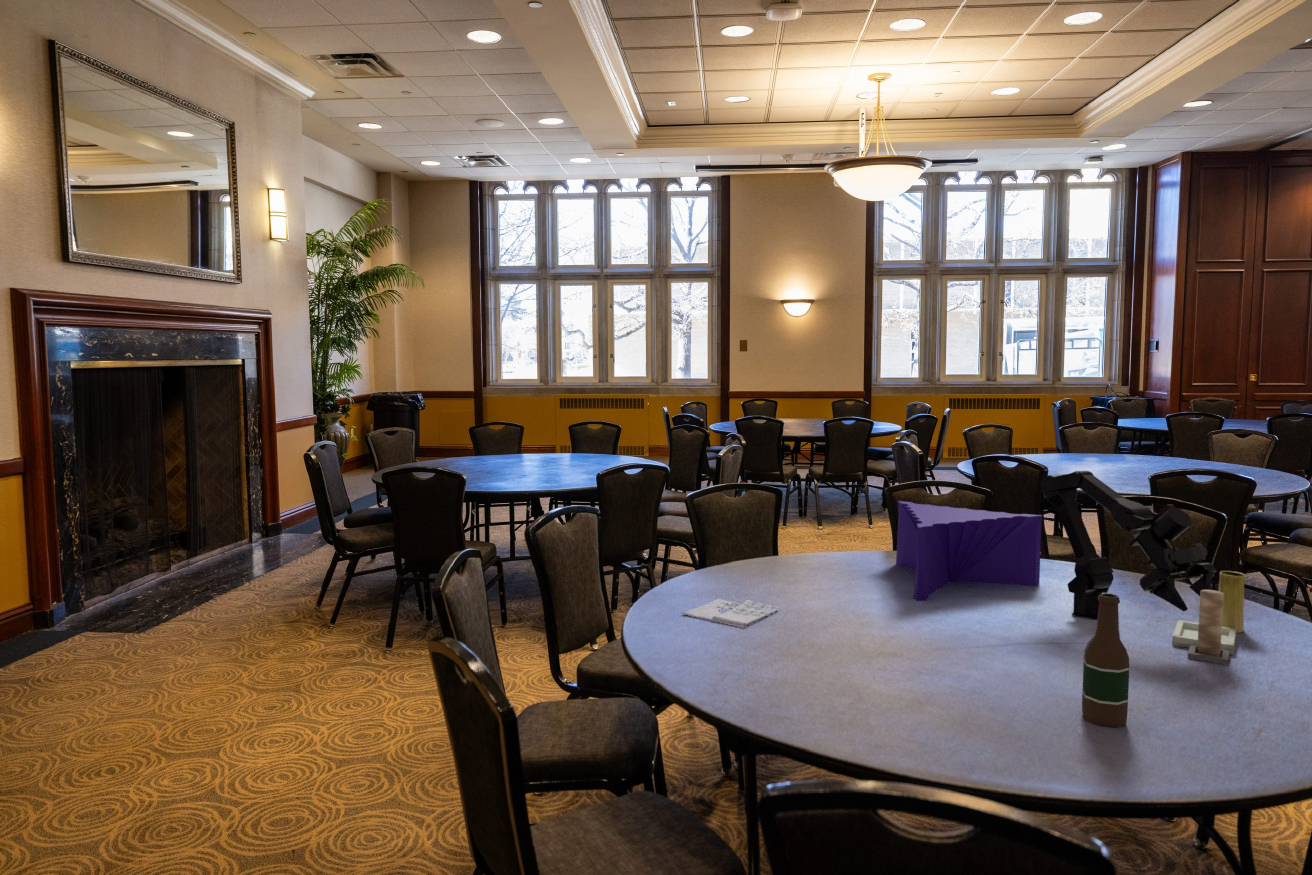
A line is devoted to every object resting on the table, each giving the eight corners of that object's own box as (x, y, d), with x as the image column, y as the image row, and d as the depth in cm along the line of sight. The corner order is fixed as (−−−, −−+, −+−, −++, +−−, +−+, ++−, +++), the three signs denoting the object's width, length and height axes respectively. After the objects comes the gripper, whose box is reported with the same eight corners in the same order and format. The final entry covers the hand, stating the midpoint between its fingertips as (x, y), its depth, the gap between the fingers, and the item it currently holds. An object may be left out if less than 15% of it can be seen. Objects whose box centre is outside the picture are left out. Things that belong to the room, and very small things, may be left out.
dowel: (1196, 657, 193) (1199, 592, 192) (1197, 652, 197) (1201, 588, 195) (1219, 661, 191) (1223, 595, 189) (1220, 655, 194) (1224, 591, 193)
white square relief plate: (744, 631, 217) (744, 622, 217) (680, 617, 229) (680, 609, 229) (781, 612, 232) (781, 605, 232) (718, 600, 244) (718, 593, 244)
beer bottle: (1072, 711, 164) (1077, 590, 162) (1110, 710, 165) (1115, 588, 163) (1096, 729, 157) (1101, 601, 154) (1136, 727, 157) (1142, 600, 155)
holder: (1187, 658, 193) (1187, 652, 193) (1190, 648, 199) (1190, 643, 199) (1227, 664, 188) (1228, 659, 188) (1229, 655, 195) (1229, 650, 194)
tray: (1172, 644, 202) (1172, 635, 202) (1177, 628, 214) (1178, 620, 214) (1233, 654, 195) (1233, 645, 195) (1235, 637, 207) (1235, 628, 207)
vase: (1248, 633, 209) (1251, 576, 208) (1221, 632, 211) (1223, 575, 209) (1237, 626, 215) (1240, 570, 214) (1210, 624, 217) (1213, 569, 215)
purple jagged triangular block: (898, 563, 285) (899, 500, 283) (1040, 585, 257) (1043, 515, 255) (844, 588, 254) (844, 518, 252) (999, 616, 226) (1001, 537, 224)
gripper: (1152, 535, 196) (1195, 594, 186) (1210, 529, 202) (1255, 585, 192) (1121, 561, 204) (1161, 619, 194) (1178, 555, 210) (1220, 610, 200)
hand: (1200, 608), depth 195 cm, fingers open, 9 cm apart
